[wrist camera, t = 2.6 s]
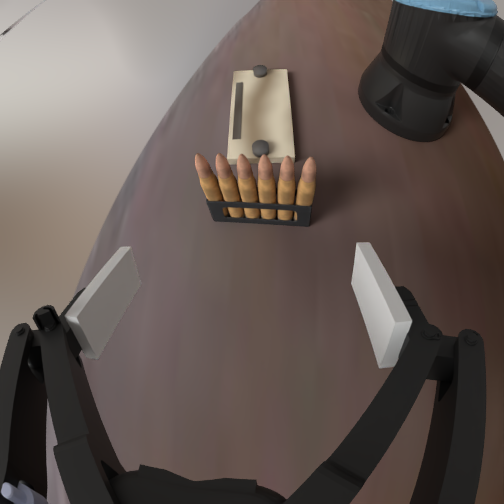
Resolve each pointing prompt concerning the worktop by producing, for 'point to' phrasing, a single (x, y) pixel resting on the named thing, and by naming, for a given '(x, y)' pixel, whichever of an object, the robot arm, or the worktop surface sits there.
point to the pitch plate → (260, 116)
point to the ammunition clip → (258, 191)
